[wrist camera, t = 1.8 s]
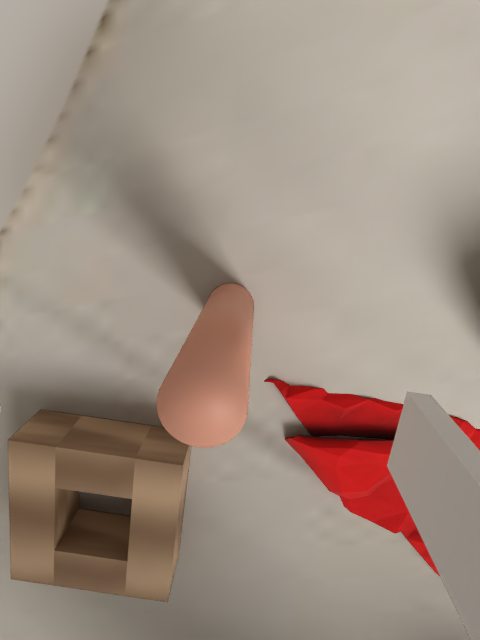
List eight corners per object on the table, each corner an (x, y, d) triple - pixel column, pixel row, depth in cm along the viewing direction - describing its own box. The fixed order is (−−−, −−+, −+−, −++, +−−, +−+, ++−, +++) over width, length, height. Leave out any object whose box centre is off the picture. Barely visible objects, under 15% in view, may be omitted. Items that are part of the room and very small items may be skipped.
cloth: (575, 558, 32) (599, 584, 30) (415, 631, 35) (425, 659, 32) (402, 283, 27) (415, 291, 25) (230, 394, 30) (228, 409, 27)
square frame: (178, 555, 33) (167, 602, 29) (40, 535, 33) (10, 578, 29) (192, 431, 30) (182, 465, 26) (40, 409, 30) (7, 440, 26)
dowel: (250, 331, 27) (241, 453, 14) (205, 324, 28) (152, 440, 14) (257, 286, 27) (254, 371, 13) (210, 280, 27) (160, 358, 13)
